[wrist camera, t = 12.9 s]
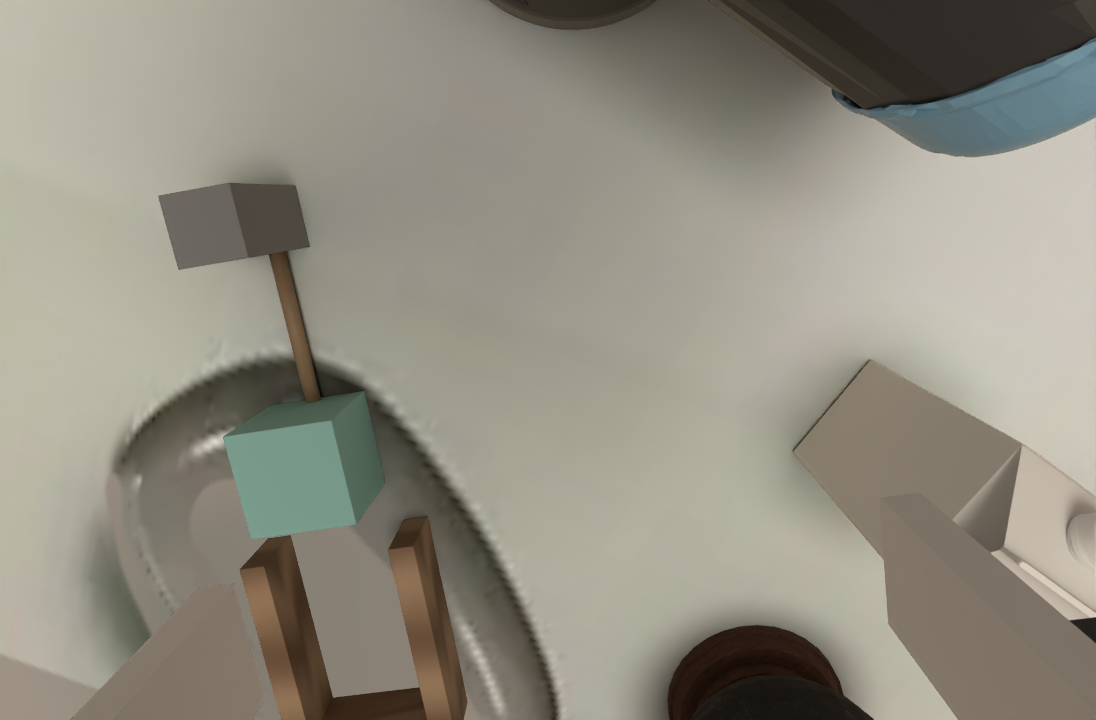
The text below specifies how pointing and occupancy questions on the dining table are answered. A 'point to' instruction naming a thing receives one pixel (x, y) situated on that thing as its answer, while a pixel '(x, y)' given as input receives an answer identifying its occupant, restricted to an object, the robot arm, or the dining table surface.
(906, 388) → the milk carton
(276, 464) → the cube dumbbell
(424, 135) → the dining table surface
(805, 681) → the speckled black round top
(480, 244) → the dining table surface
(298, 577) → the wooden u-shaped block
